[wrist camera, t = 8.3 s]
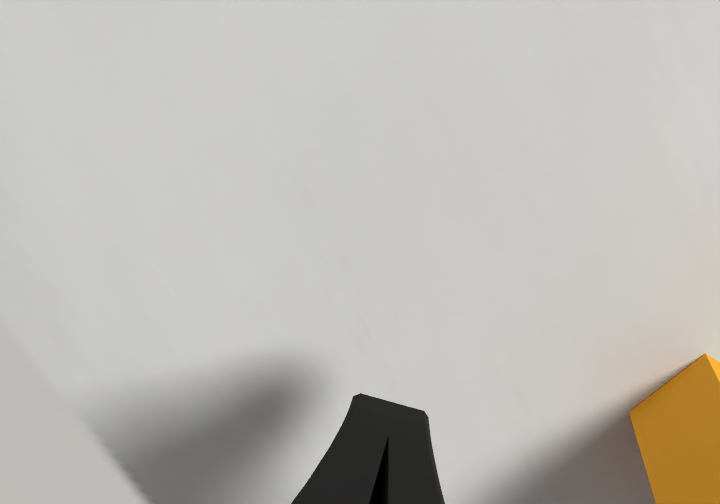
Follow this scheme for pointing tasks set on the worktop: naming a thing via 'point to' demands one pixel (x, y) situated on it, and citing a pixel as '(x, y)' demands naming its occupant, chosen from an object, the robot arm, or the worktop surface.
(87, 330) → the worktop surface
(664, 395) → the notched yellow bracket
